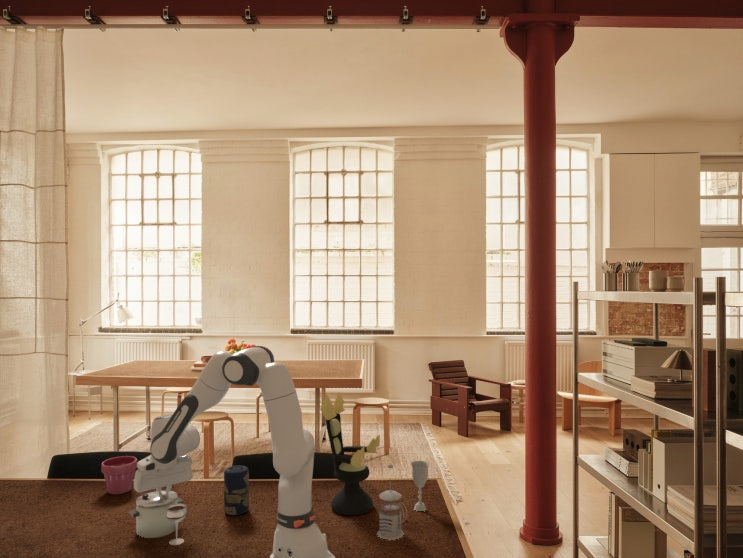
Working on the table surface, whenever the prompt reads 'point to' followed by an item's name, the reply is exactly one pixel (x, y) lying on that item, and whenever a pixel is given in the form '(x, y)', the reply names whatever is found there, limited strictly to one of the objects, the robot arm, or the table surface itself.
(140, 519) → the pot
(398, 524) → the french press
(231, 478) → the canister
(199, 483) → the table surface
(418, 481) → the chalice
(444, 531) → the table surface
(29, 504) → the table surface
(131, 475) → the plant pot
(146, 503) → the lid
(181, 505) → the wineglass
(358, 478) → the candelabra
